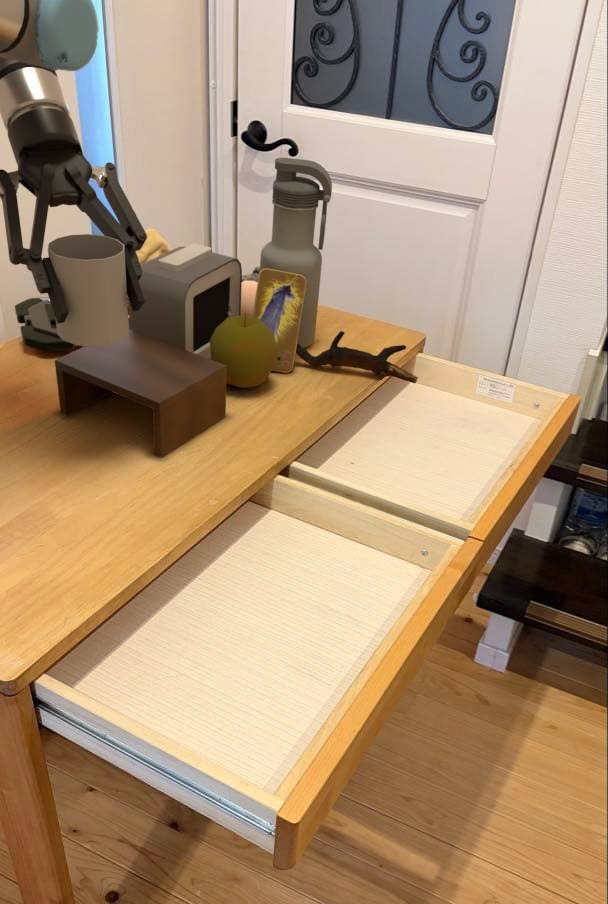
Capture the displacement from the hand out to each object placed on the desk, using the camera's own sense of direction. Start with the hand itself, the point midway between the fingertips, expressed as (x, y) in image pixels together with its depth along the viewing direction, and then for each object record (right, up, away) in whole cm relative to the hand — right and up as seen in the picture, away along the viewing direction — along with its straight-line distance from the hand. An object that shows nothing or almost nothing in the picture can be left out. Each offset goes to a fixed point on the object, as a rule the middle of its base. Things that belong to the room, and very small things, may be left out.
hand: (101, 312), depth 93 cm
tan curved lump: (-3, +20, +54) cm, 58 cm away
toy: (+31, +6, +37) cm, 49 cm away
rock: (+18, +16, +57) cm, 62 cm away
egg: (+12, +19, +49) cm, 54 cm away
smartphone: (+20, +15, +32) cm, 41 cm away
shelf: (+1, -8, +22) cm, 23 cm away
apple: (+14, -2, +32) cm, 34 cm away
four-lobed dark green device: (-14, +8, +41) cm, 44 cm away
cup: (-2, -1, +4) cm, 5 cm away
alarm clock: (+4, +5, +39) cm, 39 cm away
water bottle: (+20, +8, +45) cm, 50 cm away
